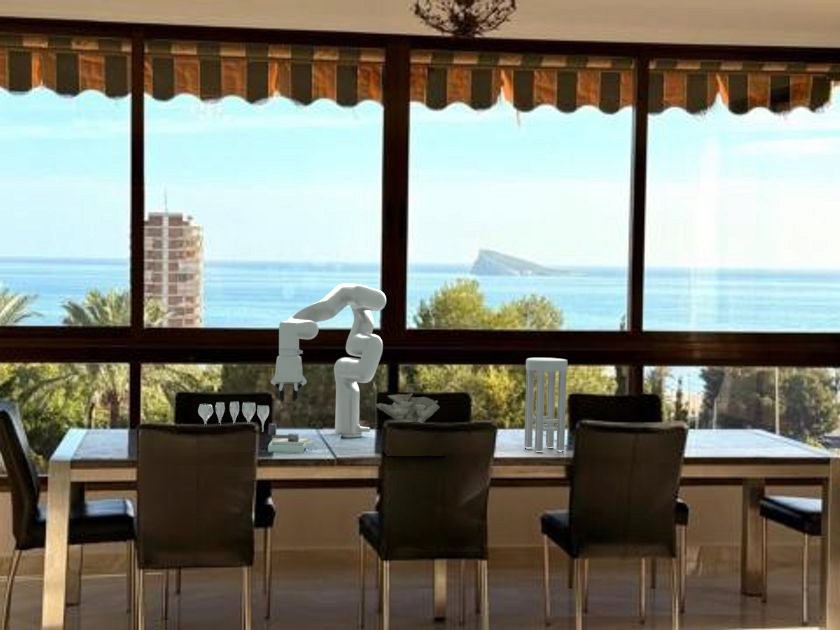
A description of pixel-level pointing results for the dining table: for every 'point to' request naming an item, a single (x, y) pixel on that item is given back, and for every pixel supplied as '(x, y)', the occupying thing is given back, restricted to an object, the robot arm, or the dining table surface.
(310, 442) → the plate
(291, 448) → the tray
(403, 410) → the coral
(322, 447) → the dining table surface
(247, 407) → the goblet set
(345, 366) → the robot arm
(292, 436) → the crank
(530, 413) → the stool
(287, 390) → the peg
